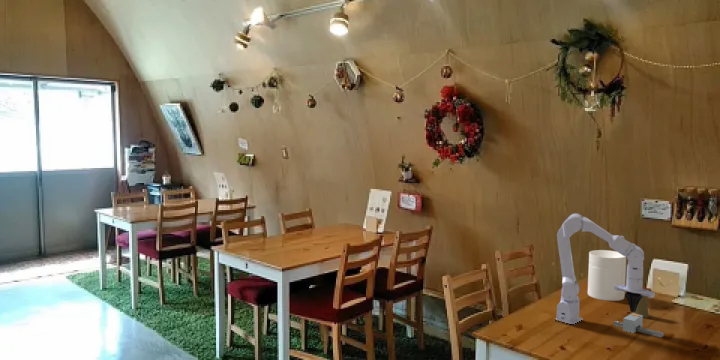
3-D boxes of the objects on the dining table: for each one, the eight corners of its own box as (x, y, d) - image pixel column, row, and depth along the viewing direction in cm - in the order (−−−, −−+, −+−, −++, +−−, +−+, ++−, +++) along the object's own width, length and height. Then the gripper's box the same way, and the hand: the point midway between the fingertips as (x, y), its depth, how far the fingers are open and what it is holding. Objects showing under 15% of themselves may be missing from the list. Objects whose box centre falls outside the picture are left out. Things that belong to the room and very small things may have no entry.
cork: (632, 316, 234) (633, 291, 233) (632, 312, 239) (634, 287, 238) (648, 318, 231) (649, 293, 230) (648, 314, 236) (649, 289, 235)
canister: (580, 292, 268) (581, 251, 266) (607, 289, 273) (609, 249, 271) (604, 302, 253) (605, 259, 251) (632, 298, 258) (634, 256, 256)
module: (633, 333, 215) (634, 320, 215) (622, 330, 218) (623, 317, 218) (642, 327, 221) (642, 314, 221) (631, 325, 224) (632, 312, 224)
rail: (661, 337, 211) (661, 333, 211) (613, 325, 224) (613, 321, 224) (663, 336, 212) (663, 332, 212) (615, 324, 225) (615, 320, 225)
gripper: (658, 279, 215) (656, 313, 216) (620, 272, 225) (618, 304, 227) (651, 283, 210) (649, 317, 211) (612, 275, 221) (611, 308, 222)
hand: (633, 311), depth 219 cm, fingers closed
